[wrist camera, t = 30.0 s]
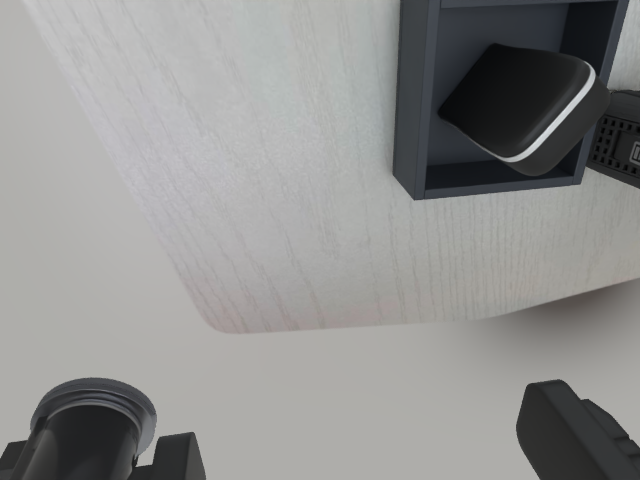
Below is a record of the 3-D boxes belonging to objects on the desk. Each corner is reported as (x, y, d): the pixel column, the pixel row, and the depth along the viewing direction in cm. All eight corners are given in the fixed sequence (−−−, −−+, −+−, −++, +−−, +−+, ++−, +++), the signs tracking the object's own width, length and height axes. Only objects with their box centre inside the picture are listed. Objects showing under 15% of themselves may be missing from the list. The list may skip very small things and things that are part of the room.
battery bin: (392, 174, 38) (413, 200, 34) (400, -6, 32) (428, -6, 27) (540, 161, 40) (580, 184, 35) (577, -13, 33) (634, -15, 28)
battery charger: (464, 141, 37) (544, 194, 27) (432, 115, 36) (505, 161, 26) (525, 68, 35) (636, 97, 25) (494, 37, 34) (599, 55, 24)
